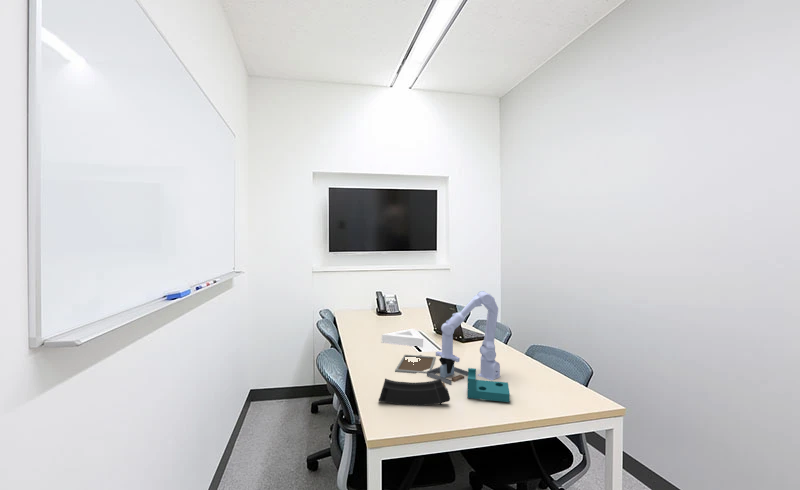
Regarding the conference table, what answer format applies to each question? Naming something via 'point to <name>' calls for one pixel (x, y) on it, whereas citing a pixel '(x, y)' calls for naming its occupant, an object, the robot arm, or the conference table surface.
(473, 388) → the teal l-shaped bracket
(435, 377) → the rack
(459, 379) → the offcut top
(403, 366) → the picture frame
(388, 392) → the magazine
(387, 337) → the triangle block
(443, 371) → the panel
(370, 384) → the conference table surface
